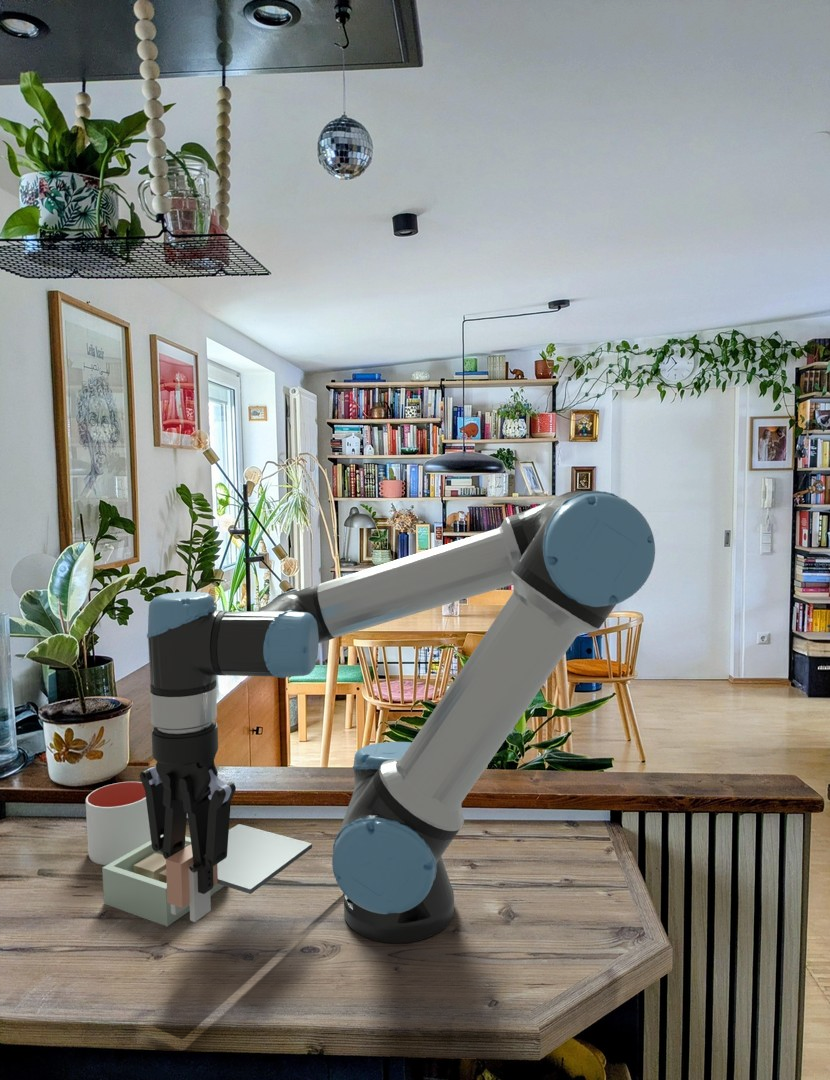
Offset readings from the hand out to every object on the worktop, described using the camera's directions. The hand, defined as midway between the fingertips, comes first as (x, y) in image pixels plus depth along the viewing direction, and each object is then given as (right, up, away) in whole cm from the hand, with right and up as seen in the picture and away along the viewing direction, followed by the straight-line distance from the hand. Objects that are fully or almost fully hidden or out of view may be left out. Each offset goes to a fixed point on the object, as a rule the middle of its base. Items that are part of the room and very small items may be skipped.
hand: (190, 911), depth 92 cm
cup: (-19, -5, +29) cm, 35 cm away
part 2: (-6, -5, +15) cm, 17 cm away
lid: (+3, +2, +6) cm, 7 cm away
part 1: (-10, -5, +17) cm, 21 cm away
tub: (-8, -6, +16) cm, 19 cm away
